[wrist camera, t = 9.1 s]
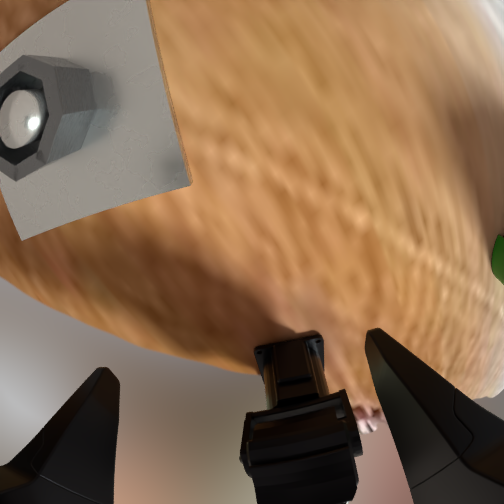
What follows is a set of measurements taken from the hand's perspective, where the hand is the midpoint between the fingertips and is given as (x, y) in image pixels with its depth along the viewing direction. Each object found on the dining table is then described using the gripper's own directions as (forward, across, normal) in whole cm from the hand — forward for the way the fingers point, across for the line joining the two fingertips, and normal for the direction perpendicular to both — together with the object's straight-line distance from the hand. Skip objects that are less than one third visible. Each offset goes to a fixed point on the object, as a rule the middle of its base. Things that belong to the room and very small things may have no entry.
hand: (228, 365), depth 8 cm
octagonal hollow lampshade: (+11, +10, -11) cm, 18 cm away
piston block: (+12, +10, -11) cm, 19 cm away
